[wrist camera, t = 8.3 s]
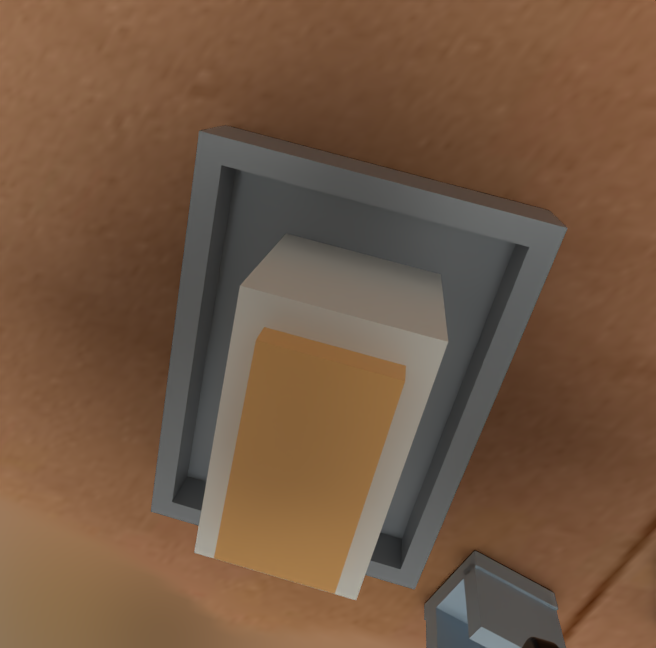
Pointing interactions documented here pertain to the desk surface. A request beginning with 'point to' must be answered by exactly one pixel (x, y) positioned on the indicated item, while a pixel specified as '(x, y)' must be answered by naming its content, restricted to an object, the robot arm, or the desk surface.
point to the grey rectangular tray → (370, 239)
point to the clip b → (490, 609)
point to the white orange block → (319, 411)
